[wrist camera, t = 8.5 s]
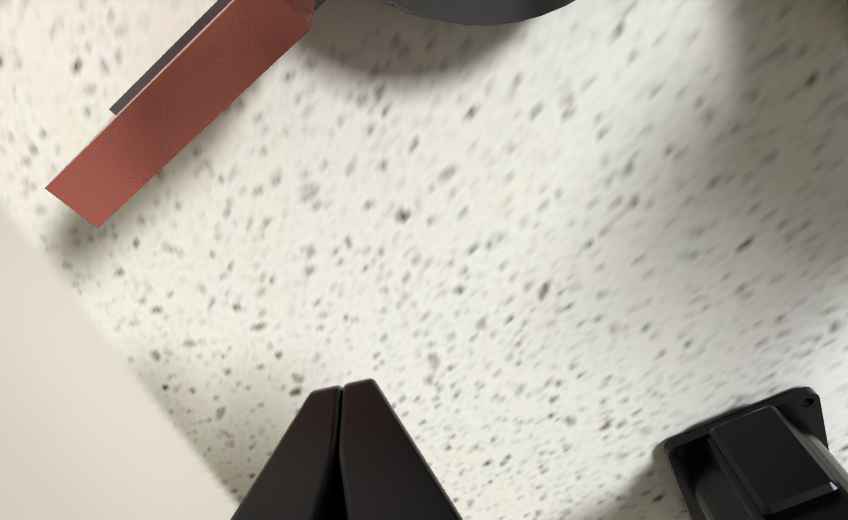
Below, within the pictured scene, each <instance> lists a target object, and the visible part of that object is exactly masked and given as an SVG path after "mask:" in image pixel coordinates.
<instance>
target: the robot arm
mask: <svg viewBox="0 0 848 520" xmlns="http://www.w3.org/2000/svg"><path fill="white" fill-rule="evenodd" d="M664 452H665V454H666V457H667V459H668V462H669V465H670V467H671V470H672V472H673V475H674V478H675V480H676V483H677V485H678V488H679V491H680V493H681V496H682V498H683V501H684V504H685V506H686V509H687V511H688V514H689V517H690V519H691V520H848V473H847V472H846V470H845V469H844V468H843V467H842V466H841V465H840V463H839V462H838V461H837V460H836V459H835V458H834V456H833V455H832V454H831V453H830V452H829V449H828V443H827V437H826V432H825V426H824V420H823V414H822V409H821V403H820V398H819V396H818V395H817V393H816V392H815V391H814V390H813V389H812V388H810V387H802V388H799V389H797V390H794V391H792V392H789V393H787V394H784V395H782V396H779V397H777V398H774V399H772V400H769V401H767V402H764V403H762V404H759V405H757V406H754V407H752V408H749V409H747V410H744V411H742V412H739V413H737V414H734V415H732V416H729V417H727V418H724V419H722V420H719V421H717V422H714V423H712V424H709V425H707V426H704V427H702V428H699V429H697V430H694V431H692V432H689V433H687V434H684V435H682V436H679V437H677V438H674V439H672V440H670V441H669V442H668V443H667V444H666V445H665V447H664ZM231 520H463V519H462V517H461V515H460V514H459V512H458V511H457V509H456V508H455V506H454V504H453V503H452V501H451V500H450V498H449V496H448V495H447V493H446V492H445V490H444V489H443V487H442V485H441V484H440V482H439V481H438V479H437V478H436V476H435V474H434V473H433V471H432V470H431V468H430V466H429V465H428V463H427V462H426V460H425V459H424V457H423V455H422V454H421V452H420V451H419V449H418V447H417V446H416V444H415V443H414V441H413V440H412V438H411V436H410V435H409V433H408V432H407V430H406V429H405V427H404V425H403V424H402V422H401V421H400V419H399V417H398V416H397V414H396V413H395V411H394V410H393V408H392V406H391V405H390V403H389V402H388V400H387V398H386V397H385V395H384V394H383V392H382V391H381V389H380V387H379V386H378V384H377V383H376V381H375V380H374V379H371V378H369V379H364V380H360V381H355V382H350V383H347V384H346V385H345V386H344V387H343V388H342V387H341V386H339V385H336V386H332V387H327V388H322V389H318V390H314V391H312V392H311V393H310V394H309V395H308V397H307V399H306V400H305V402H304V403H303V405H302V407H301V408H300V410H299V411H298V413H297V415H296V416H295V418H294V419H293V421H292V423H291V424H290V426H289V427H288V429H287V431H286V432H285V434H284V435H283V437H282V438H281V440H280V442H279V443H278V445H277V446H276V448H275V450H274V451H273V453H272V454H271V456H270V458H269V459H268V461H267V462H266V464H265V466H264V467H263V469H262V470H261V472H260V474H259V475H258V477H257V478H256V480H255V482H254V483H253V485H252V486H251V488H250V490H249V491H248V493H247V494H246V496H245V498H244V499H243V501H242V502H241V504H240V506H239V507H238V509H237V510H236V512H235V513H234V515H233V517H232V518H231Z"/></svg>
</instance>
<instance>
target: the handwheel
mask: <svg viewBox="0 0 848 520" xmlns="http://www.w3.org/2000/svg"><path fill="white" fill-rule="evenodd" d="M324 1H326V0H218V1H217V2H216V3H215V4H214V5H213V6H212V7H211V8H210V9H209V10H208V11H207V12H206V13H205V14H204V15H203V16H202V17H201V18H200V19H199V20H198V21H197V22H196V23H195V24H194V25H193V26H192V27H191V28H190V29H189V30H188V31H187V32H186V33H185V34H184V35H183V36H182V37H181V38H180V39H179V40H178V41H177V42H176V43H175V44H174V45H173V46H172V47H171V48H170V49H169V50H168V51H167V52H166V53H165V54H164V55H163V56H162V57H161V58H160V59H159V60H158V61H157V62H156V63H155V64H154V65H153V66H152V67H151V68H150V69H149V70H148V71H147V72H146V73H145V74H144V75H143V76H142V77H141V78H140V79H139V80H138V81H137V82H136V83H135V84H134V85H133V86H132V87H131V88H130V89H129V90H128V91H127V92H126V93H125V94H124V95H123V96H122V97H121V98H120V99H119V100H118V101H117V102H116V103H115V104H114V105H113V106H112V107H111V108H110V109H109V110H110V111H112V112H113V113H114V114H115V116H114V117H113V118H112V119H111V121H110V122H109V123H108V124H107V125H106V126H105V127H104V128H103V129H102V130H101V131H100V132H99V133H98V134H97V135H96V136H95V137H94V138H93V139H92V140H91V141H90V142H89V143H88V144H87V145H86V146H85V147H84V148H83V149H82V150H81V151H80V152H79V153H78V154H77V156H76V157H75V158H74V159H73V160H72V161H71V162H70V163H69V164H68V165H67V166H66V167H65V168H64V169H63V170H62V171H61V172H60V173H59V174H58V175H57V176H56V177H55V178H54V179H53V180H52V181H51V182H50V183H49V184H48V185H47V186H46V187H45V189H46V190H48V191H49V192H50V193H52V194H53V195H54V196H56V197H57V198H58V199H60V200H61V201H62V202H64V203H65V204H66V205H68V206H69V207H70V208H71V209H73V210H74V211H75V212H77V213H78V214H79V215H81V216H82V217H83V218H85V219H86V220H87V221H89V222H90V223H91V224H93V225H94V226H95V227H96V228H98V227H99V226H100V225H101V224H102V223H103V222H104V221H106V220H107V219H108V218H109V217H110V216H111V215H112V214H113V213H114V212H115V211H116V210H117V209H118V208H119V207H120V206H122V205H123V204H124V203H125V202H126V201H127V200H128V199H129V198H130V197H131V196H132V195H133V194H134V193H135V192H137V191H138V190H139V189H140V188H141V187H142V186H143V185H144V184H145V183H146V182H147V181H148V180H149V179H150V178H151V177H153V176H154V175H155V174H156V173H157V172H158V171H159V170H160V169H161V168H162V167H163V166H164V165H165V164H166V163H168V162H169V161H170V160H171V159H172V158H173V157H174V156H175V155H176V154H177V153H178V152H179V151H180V150H181V149H182V148H184V147H185V146H186V145H187V144H188V143H189V142H190V141H191V140H192V139H193V138H194V137H195V136H196V135H197V134H199V133H200V132H201V131H202V130H203V129H204V128H205V127H206V126H207V125H208V124H209V123H210V122H211V121H212V120H213V119H215V118H216V117H217V116H218V115H219V114H220V113H221V112H222V111H223V110H224V109H225V108H226V107H227V106H228V105H230V104H231V103H232V102H233V101H234V100H235V99H236V98H237V97H238V96H239V95H240V94H241V93H242V92H243V91H244V90H246V89H247V88H248V87H249V86H250V85H251V84H252V83H253V82H254V81H255V80H256V79H257V78H258V77H259V76H261V75H262V74H263V73H264V72H265V71H266V70H267V69H268V68H269V67H270V66H271V65H272V64H273V63H274V62H275V61H277V60H278V59H279V58H280V57H281V56H282V55H283V54H284V53H285V52H286V51H287V50H288V49H289V48H290V47H292V46H293V45H294V44H295V43H296V42H297V41H298V40H299V39H300V38H301V37H302V36H303V35H304V34H305V33H306V32H308V31H309V30H310V26H311V21H312V16H313V12H314V11H315V10H316V9H317V8H318V7H319V6H320V5H321V4H322V3H323V2H324ZM391 1H392V2H394V3H396V4H398V5H400V6H402V7H405V8H407V9H409V10H411V11H413V12H415V13H418V14H421V15H424V16H427V17H431V18H434V19H437V20H440V21H445V22H452V23H458V24H464V25H498V24H506V23H514V22H519V21H523V20H527V19H531V18H534V17H538V16H542V15H544V14H547V13H549V12H552V11H554V10H556V9H559V8H561V7H564V6H566V5H568V4H569V3H571V2H573V1H575V0H391Z"/></svg>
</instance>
